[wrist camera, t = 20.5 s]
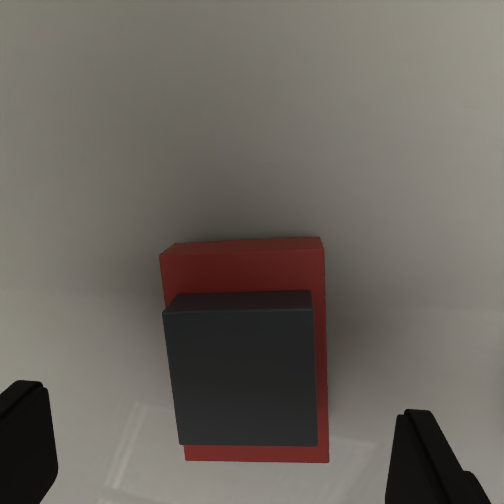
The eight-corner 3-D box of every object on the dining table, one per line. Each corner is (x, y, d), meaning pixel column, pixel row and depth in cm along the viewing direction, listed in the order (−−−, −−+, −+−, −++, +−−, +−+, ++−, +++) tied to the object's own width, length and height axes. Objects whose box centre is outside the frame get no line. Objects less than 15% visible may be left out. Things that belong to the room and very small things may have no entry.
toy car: (140, 269, 12) (329, 261, 12) (180, 237, 17) (318, 231, 16) (172, 497, 15) (334, 502, 14) (201, 414, 19) (323, 415, 19)
